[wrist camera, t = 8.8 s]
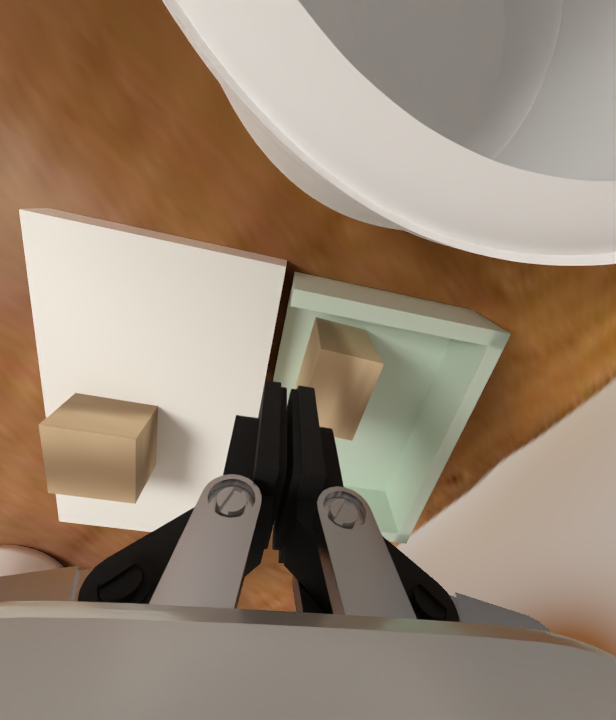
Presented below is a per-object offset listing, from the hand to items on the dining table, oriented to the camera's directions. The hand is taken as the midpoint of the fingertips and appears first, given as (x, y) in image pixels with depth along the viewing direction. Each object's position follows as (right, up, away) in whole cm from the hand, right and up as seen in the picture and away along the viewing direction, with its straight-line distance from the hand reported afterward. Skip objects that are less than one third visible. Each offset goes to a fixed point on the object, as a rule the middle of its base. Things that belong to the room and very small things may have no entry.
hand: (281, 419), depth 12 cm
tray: (+4, -1, +11) cm, 11 cm away
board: (-8, 0, +10) cm, 13 cm away
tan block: (-10, -2, +9) cm, 14 cm away
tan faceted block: (+1, +2, +6) cm, 7 cm away
